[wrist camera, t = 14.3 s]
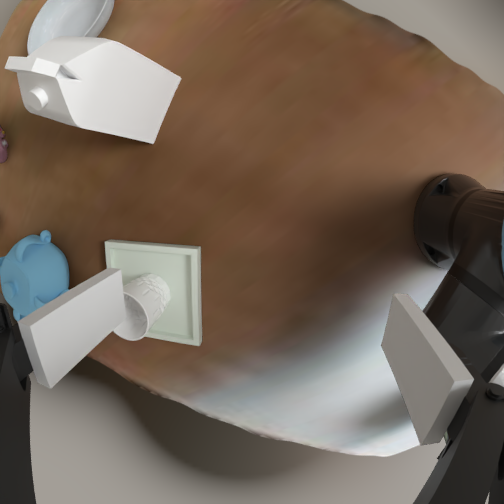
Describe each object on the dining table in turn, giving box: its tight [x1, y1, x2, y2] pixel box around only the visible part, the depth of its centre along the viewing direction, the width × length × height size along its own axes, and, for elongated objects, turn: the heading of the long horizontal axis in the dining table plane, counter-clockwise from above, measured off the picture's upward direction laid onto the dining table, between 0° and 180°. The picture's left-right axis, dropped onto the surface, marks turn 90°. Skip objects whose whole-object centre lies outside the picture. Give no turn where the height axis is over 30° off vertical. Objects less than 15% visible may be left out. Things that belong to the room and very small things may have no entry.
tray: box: [105, 239, 202, 346], centre depth 49 cm, size 17×17×2 cm
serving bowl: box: [27, 0, 114, 55], centre depth 36 cm, size 21×21×7 cm
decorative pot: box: [0, 230, 69, 321], centre depth 46 cm, size 16×16×14 cm
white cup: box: [113, 273, 171, 341], centre depth 45 cm, size 8×8×10 cm
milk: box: [5, 36, 181, 144], centre depth 30 cm, size 12×12×26 cm
